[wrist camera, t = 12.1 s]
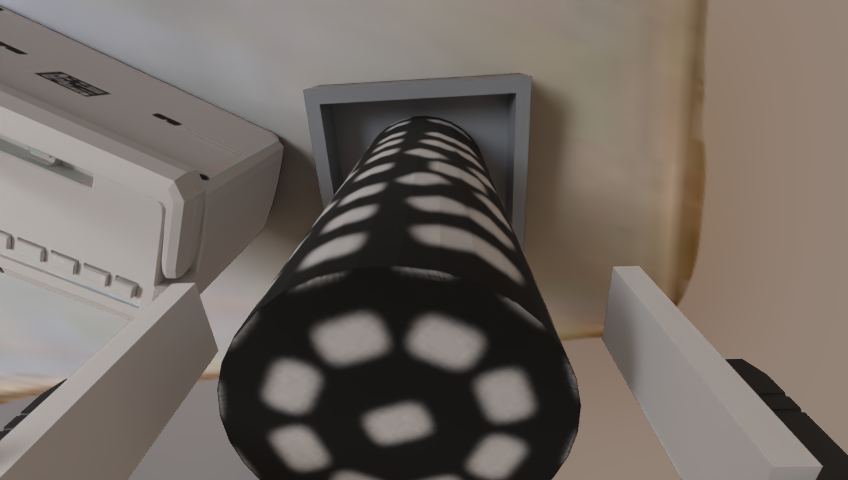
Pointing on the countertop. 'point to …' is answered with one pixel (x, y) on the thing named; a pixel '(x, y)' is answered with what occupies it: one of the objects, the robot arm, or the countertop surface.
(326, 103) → the tray
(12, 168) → the stereo radio cassette player
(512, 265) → the spotted tube
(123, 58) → the countertop surface
